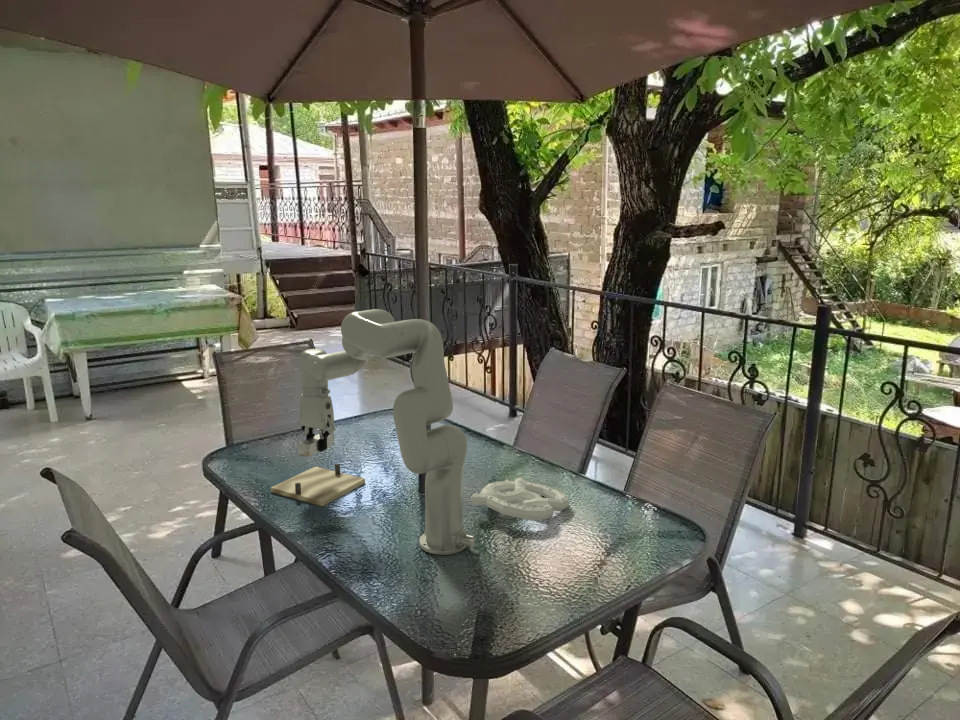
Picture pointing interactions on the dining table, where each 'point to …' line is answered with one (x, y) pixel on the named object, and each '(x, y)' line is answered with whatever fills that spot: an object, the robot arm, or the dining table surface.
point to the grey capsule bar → (313, 445)
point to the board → (318, 485)
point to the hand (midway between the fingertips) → (316, 448)
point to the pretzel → (521, 499)
